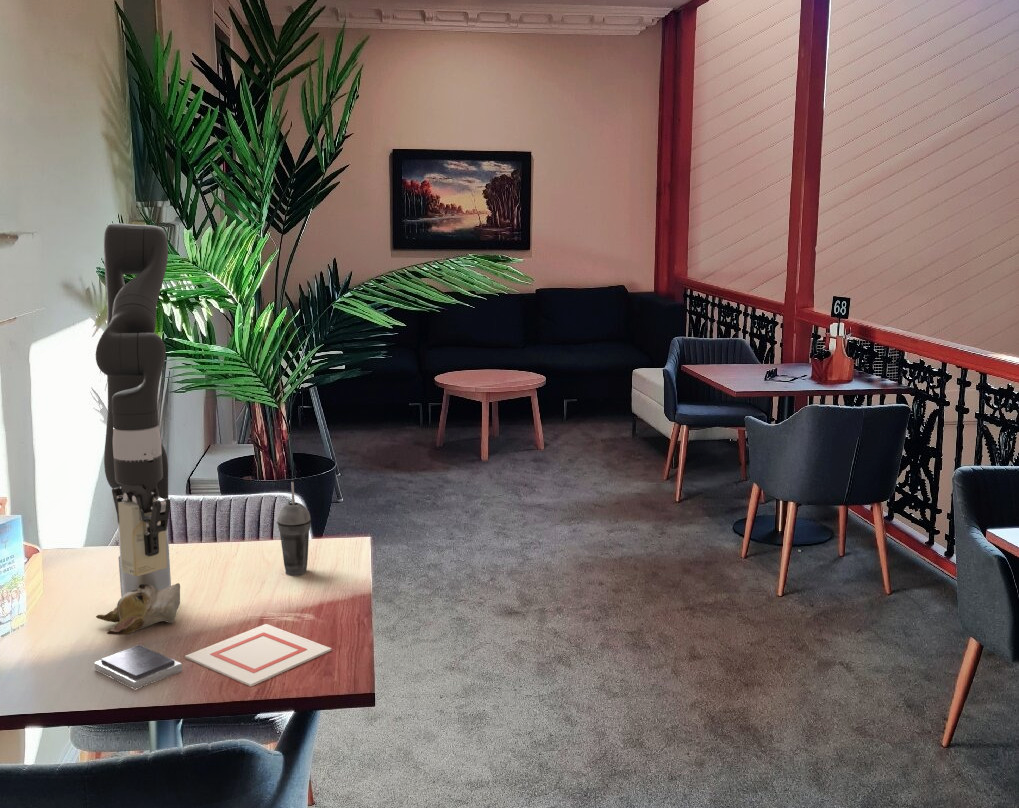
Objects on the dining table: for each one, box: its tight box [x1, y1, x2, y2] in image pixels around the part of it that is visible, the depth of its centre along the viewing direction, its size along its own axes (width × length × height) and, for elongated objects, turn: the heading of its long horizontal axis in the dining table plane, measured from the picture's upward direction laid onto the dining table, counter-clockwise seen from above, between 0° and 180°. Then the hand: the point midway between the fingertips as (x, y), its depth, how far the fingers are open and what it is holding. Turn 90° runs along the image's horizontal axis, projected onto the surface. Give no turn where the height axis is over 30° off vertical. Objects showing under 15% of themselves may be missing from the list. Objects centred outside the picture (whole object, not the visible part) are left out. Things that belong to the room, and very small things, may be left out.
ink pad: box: [93, 644, 183, 690], centre depth 176 cm, size 12×9×2 cm
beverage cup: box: [276, 481, 312, 577], centre depth 222 cm, size 7×7×20 cm
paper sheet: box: [184, 623, 332, 687], centre depth 183 cm, size 18×18×1 cm
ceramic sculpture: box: [95, 582, 181, 636], centre depth 194 cm, size 11×9×15 cm
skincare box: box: [118, 500, 167, 576], centre depth 173 cm, size 6×4×12 cm
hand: (143, 551), depth 173 cm, fingers closed on skincare box, 4 cm apart
